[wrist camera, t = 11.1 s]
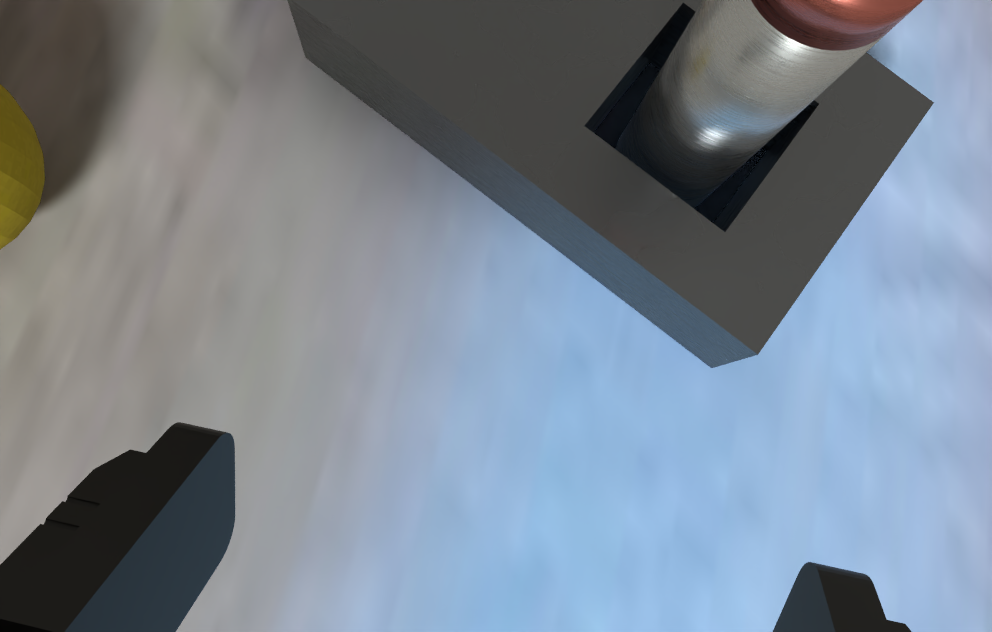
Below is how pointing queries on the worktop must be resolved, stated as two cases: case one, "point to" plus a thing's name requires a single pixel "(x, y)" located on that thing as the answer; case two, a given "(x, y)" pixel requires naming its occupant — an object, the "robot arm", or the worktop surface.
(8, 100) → the lemon
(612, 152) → the grey block with hole
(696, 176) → the pin
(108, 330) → the worktop surface
